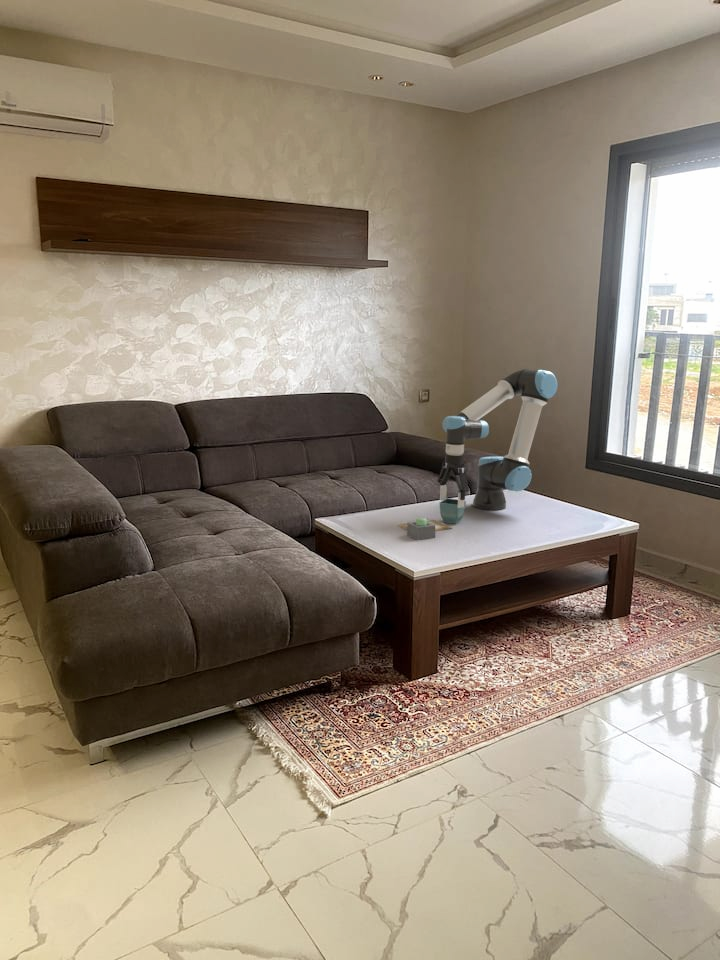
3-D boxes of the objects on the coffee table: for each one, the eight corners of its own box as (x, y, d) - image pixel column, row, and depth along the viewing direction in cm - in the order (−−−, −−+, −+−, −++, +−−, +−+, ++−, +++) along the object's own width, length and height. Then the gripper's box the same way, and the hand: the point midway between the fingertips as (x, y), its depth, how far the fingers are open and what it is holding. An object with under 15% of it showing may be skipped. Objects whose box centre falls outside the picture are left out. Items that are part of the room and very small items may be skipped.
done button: (423, 528, 299) (423, 517, 298) (428, 531, 296) (429, 519, 295) (413, 530, 298) (413, 518, 297) (419, 532, 294) (419, 521, 293)
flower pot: (438, 523, 317) (438, 502, 315) (445, 518, 324) (446, 498, 322) (457, 525, 313) (458, 505, 311) (465, 521, 320) (466, 500, 318)
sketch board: (434, 521, 319) (434, 519, 319) (451, 528, 308) (451, 527, 308) (397, 525, 311) (397, 524, 311) (413, 533, 300) (413, 532, 300)
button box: (424, 532, 302) (424, 520, 301) (434, 537, 295) (435, 525, 294) (407, 534, 299) (407, 522, 298) (417, 540, 292) (417, 527, 291)
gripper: (430, 449, 322) (428, 497, 326) (463, 459, 300) (460, 511, 304) (445, 448, 325) (443, 496, 329) (479, 458, 303) (476, 509, 307)
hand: (451, 503), depth 317 cm, fingers open, 13 cm apart
